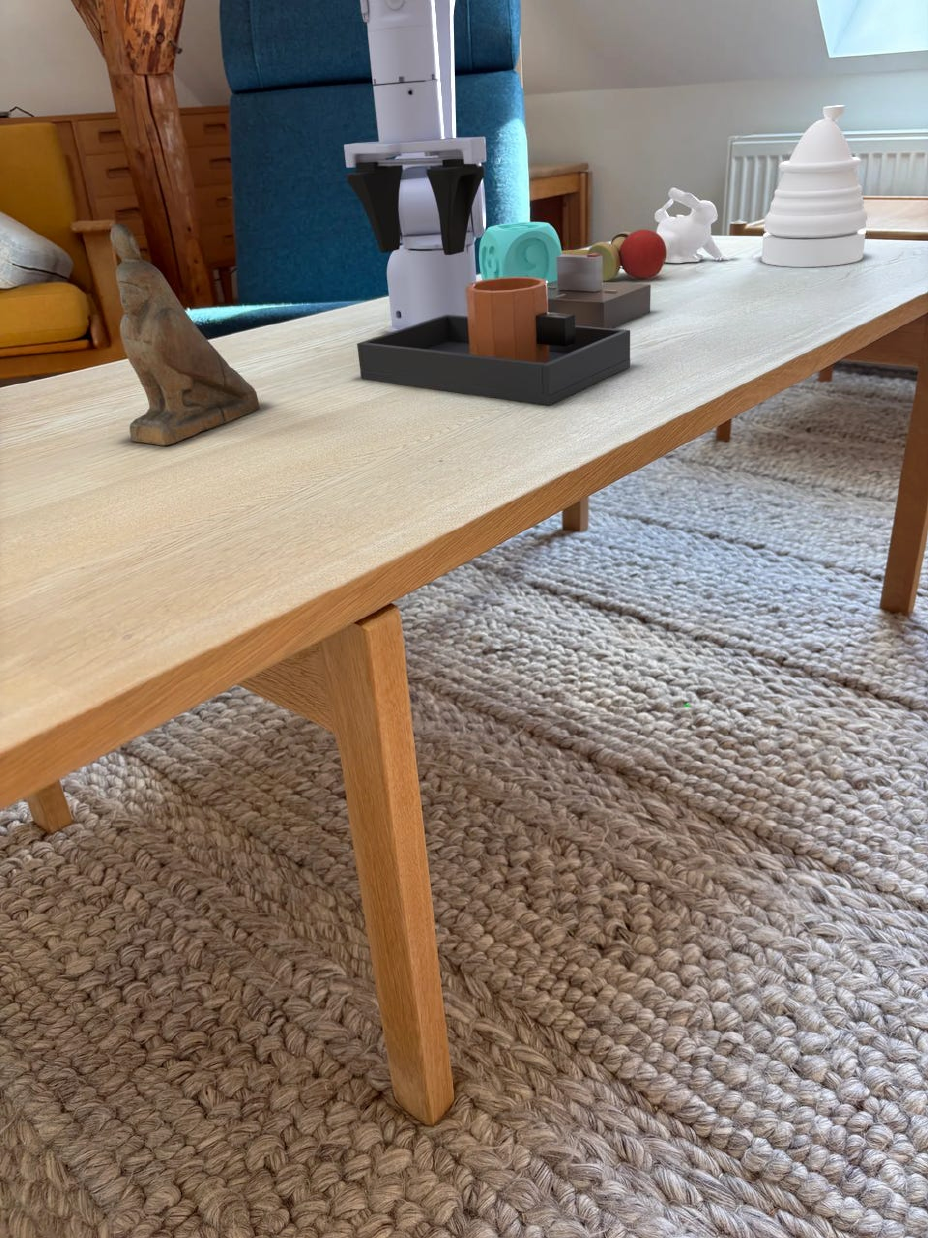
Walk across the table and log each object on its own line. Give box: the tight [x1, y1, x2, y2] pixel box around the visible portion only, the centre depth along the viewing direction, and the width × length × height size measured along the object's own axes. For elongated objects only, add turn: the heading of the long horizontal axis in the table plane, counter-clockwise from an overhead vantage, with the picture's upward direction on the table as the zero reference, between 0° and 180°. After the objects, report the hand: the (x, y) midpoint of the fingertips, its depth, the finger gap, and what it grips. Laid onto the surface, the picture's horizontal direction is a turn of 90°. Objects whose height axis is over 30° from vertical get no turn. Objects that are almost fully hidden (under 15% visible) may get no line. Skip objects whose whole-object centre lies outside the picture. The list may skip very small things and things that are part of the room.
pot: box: [466, 277, 575, 363], centre depth 86 cm, size 10×7×7 cm
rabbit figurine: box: [654, 187, 733, 264], centre depth 134 cm, size 12×8×10 cm, turn 50°
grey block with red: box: [557, 253, 604, 292], centre depth 106 cm, size 5×1×4 cm, turn 52°
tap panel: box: [547, 280, 652, 329], centre depth 108 cm, size 12×10×3 cm
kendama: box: [561, 228, 667, 282], centre depth 129 cm, size 8×6×18 cm
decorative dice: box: [478, 221, 563, 283], centre depth 122 cm, size 8×8×8 cm
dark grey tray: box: [356, 315, 631, 406], centre depth 89 cm, size 21×13×3 cm, turn 52°
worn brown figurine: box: [109, 222, 260, 446], centre depth 78 cm, size 12×6×18 cm, turn 145°
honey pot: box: [761, 105, 868, 268], centre depth 127 cm, size 13×13×18 cm
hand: (421, 252), depth 90 cm, fingers open, 7 cm apart
